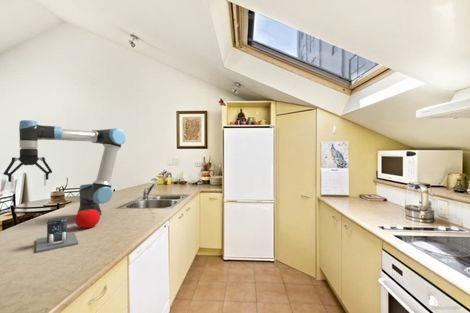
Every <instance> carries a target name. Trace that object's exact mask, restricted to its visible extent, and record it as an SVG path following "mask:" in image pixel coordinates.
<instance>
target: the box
mask: <svg viewBox="0 0 470 313" xmlns="http://www.w3.org/2000/svg"><path fill="white" fill-rule="evenodd" d="M67 223H68V219H67V217H66V216H65V217H57V218H49V219H47V222H46V228H47V229H46V235H47V236H46V237H47V243H49V235H50V234H53V242H55V241H61V240H62V233H63V232H66V239H67V233H68V224H67Z"/></svg>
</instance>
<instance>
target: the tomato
mask: <svg viewBox="0 0 470 313" xmlns="http://www.w3.org/2000/svg"><path fill="white" fill-rule="evenodd" d="M77 212H78V211H77ZM100 219H101V215H100V214H99V212H98V211H97V210H94V209H88V210H83V211H80V212H78V214H77V213H76V215H75V217H74V223H75V224H76V225H77V226H78V227H80V228H83V229H85V228H86V229H89V228H93V227H96V225H97V224H98V223H99V222H100Z"/></svg>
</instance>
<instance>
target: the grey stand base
mask: <svg viewBox="0 0 470 313" xmlns="http://www.w3.org/2000/svg"><path fill="white" fill-rule="evenodd" d="M35 245H36V247H35V248H36V249H35V252H36V254H39V253H43V252H47V251H51V250H58V249H62V248H67V247H71V246H77V245H79V240H78V239H77V235H76V233H75V231H72V232H67V239H66V232H63V233H62V240H61V241H55V242H53V234H50V235H49V243H47V236H43V237H37V238H36V244H35Z"/></svg>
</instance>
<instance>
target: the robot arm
mask: <svg viewBox="0 0 470 313" xmlns="http://www.w3.org/2000/svg"><path fill="white" fill-rule="evenodd" d="M18 130H19V148H20V149H19V157H13V156H12V157H11V161H10V163H9V164H8V166H7V167H6V169H5V170H4V172H3V175H4V176H7V179H8V180H7V181H8V182H9V183H11V184H10V185H11V186H10V188H11V189H14V184H15V183H14V182H15V181H14V175H13V174H14V173H16V172H17V171H18V170H19V169H20V168H21V167H23V166H34V165H35V166H36V167H37V168H39V170H41V171H42V172H43V173H44V174H43V186H44V187H47V180H49V174H51V173H53V171H52V169H51V167H50V166H49V165H48V163H47V161H46V157H44V156H43V157H39V156H38V155H39V154H38V153H39V151H38V146H39V145H38V140H39V141H42V140H47V141H48V140H51V141H52V140H53V141H66V142H67V141H69V142H70V141H71V142H90V143H92V144H99V145H102V146H103V147H104V148H103V153H102V156H101V160H100V163H99V168H98V171H97V176H96V180H94V181H93V182H92V183H87V184H80V186H79V190H78V191H79V207H78V209H77V213H76V215H77V214H78V212H80V211H83V210H88V209H94V210H97V211H98V212H99V214H100V216H101V215H102V210H101V207H100V204H101V205H102V204H103V205H104V204H107V203H108V202H109V201H111V199H112V198H113V194H114V193H113V190H112V184H111V179H112V174H113V170H114V167H115V163H116V162H115V161H116V159H117V155H118V151H119V150H120V149H121V147H122V145H123V144H124V143H126V141H127V136H126V134H125V131H123V130H122V129H121V128H107V129H92V130H81V129H66V128H62V127H60V126H56V125H54V126H53V125H52V126H51V125H40V124H38V122H37V120H28V119H27V120H26V119H21V120H20V121H19V126H18ZM39 160H40V161H41V162H42V163H43V164H44V166H45V167H46V169H47V170H46V169H45V168H44V167H42V166H41V164H39V163H38V161H39ZM17 161H19V162H20V163H19V164H18V165H17V166H16V167H14V169H13V170H11V168H12V167H13V165H14V164H15V163H16V162H17ZM10 170H11V171H10ZM9 171H10V172H9Z"/></svg>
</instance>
